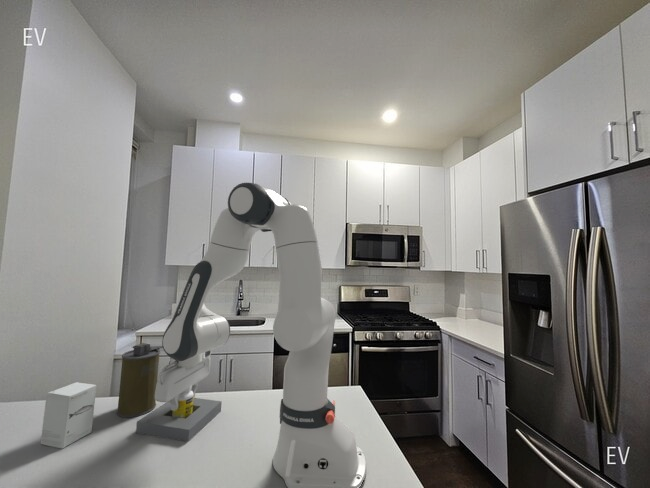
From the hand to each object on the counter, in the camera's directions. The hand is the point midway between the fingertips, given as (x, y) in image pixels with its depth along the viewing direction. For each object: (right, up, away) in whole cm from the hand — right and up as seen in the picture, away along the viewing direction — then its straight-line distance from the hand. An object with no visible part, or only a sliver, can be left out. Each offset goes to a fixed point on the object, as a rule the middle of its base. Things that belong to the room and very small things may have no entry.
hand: (183, 403), depth 83 cm
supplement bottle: (0, -5, 0) cm, 5 cm away
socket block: (0, -5, 0) cm, 5 cm away
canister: (-17, -5, +6) cm, 19 cm away
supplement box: (-25, -4, -10) cm, 28 cm away
